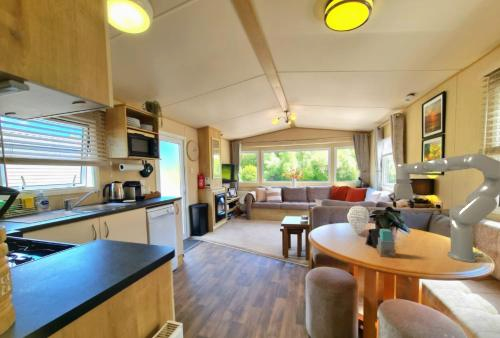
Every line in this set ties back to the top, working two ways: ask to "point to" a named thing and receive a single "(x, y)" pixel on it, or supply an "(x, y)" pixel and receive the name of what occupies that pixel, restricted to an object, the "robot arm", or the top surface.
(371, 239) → the door stopper
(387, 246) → the grey squat block
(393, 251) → the grey square block
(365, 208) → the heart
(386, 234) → the teal block
